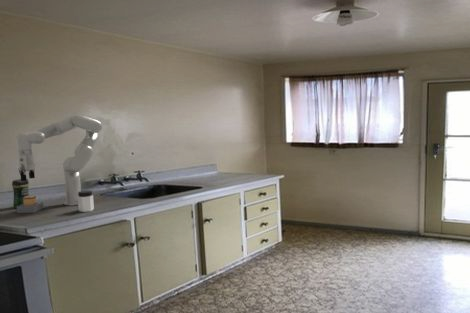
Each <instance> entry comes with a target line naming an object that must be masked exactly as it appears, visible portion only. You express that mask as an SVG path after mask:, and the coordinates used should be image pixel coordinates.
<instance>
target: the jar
mask: <svg viewBox="0 0 470 313" xmlns="http://www.w3.org/2000/svg"><path fill="white" fill-rule="evenodd" d="M94 203H95V202H94V195H93V190H90V189H88V190H81V191H80V192H78V205H77V206H78V211H79V212H80V213H88V212H92V211H93V210H95V206H94Z"/></svg>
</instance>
